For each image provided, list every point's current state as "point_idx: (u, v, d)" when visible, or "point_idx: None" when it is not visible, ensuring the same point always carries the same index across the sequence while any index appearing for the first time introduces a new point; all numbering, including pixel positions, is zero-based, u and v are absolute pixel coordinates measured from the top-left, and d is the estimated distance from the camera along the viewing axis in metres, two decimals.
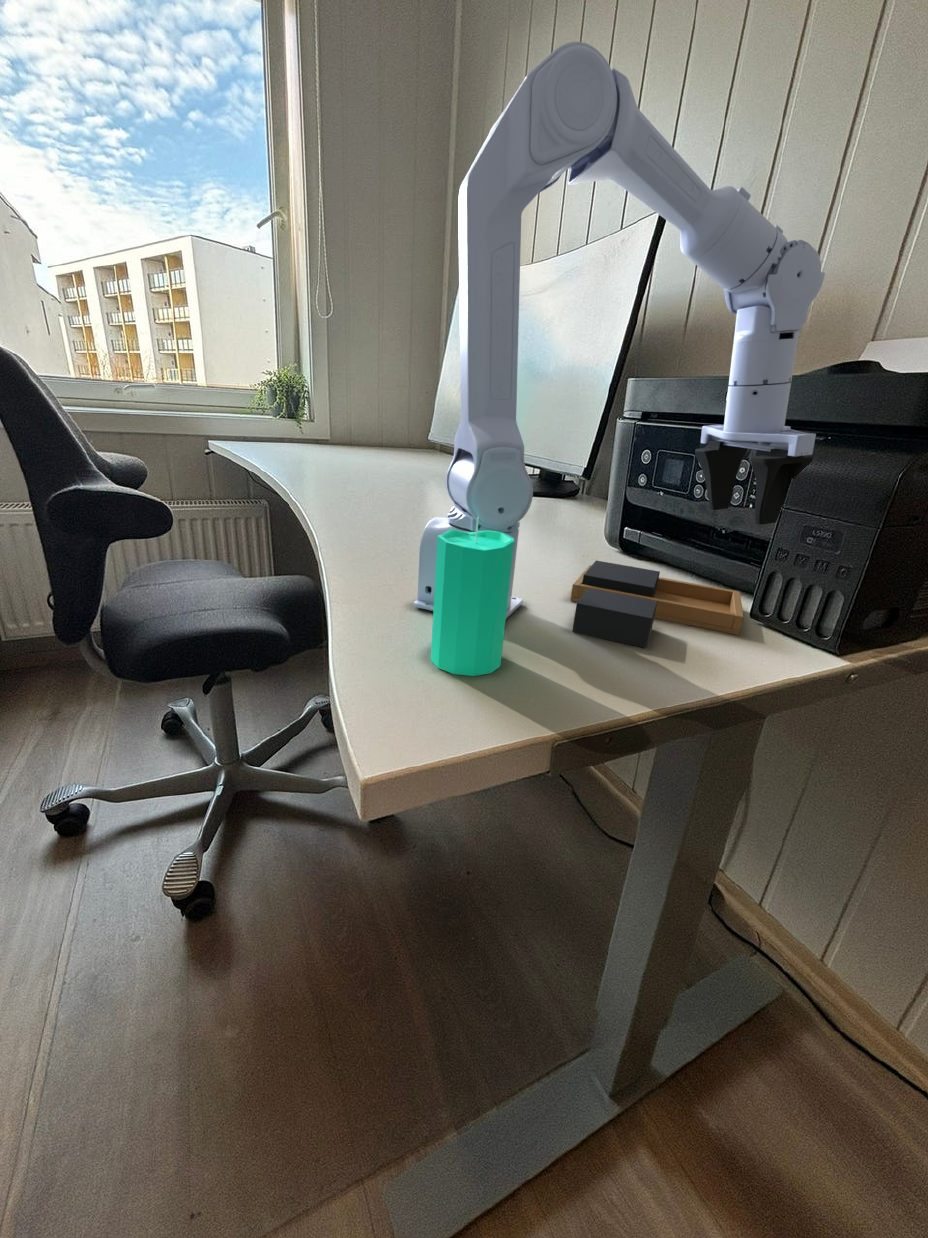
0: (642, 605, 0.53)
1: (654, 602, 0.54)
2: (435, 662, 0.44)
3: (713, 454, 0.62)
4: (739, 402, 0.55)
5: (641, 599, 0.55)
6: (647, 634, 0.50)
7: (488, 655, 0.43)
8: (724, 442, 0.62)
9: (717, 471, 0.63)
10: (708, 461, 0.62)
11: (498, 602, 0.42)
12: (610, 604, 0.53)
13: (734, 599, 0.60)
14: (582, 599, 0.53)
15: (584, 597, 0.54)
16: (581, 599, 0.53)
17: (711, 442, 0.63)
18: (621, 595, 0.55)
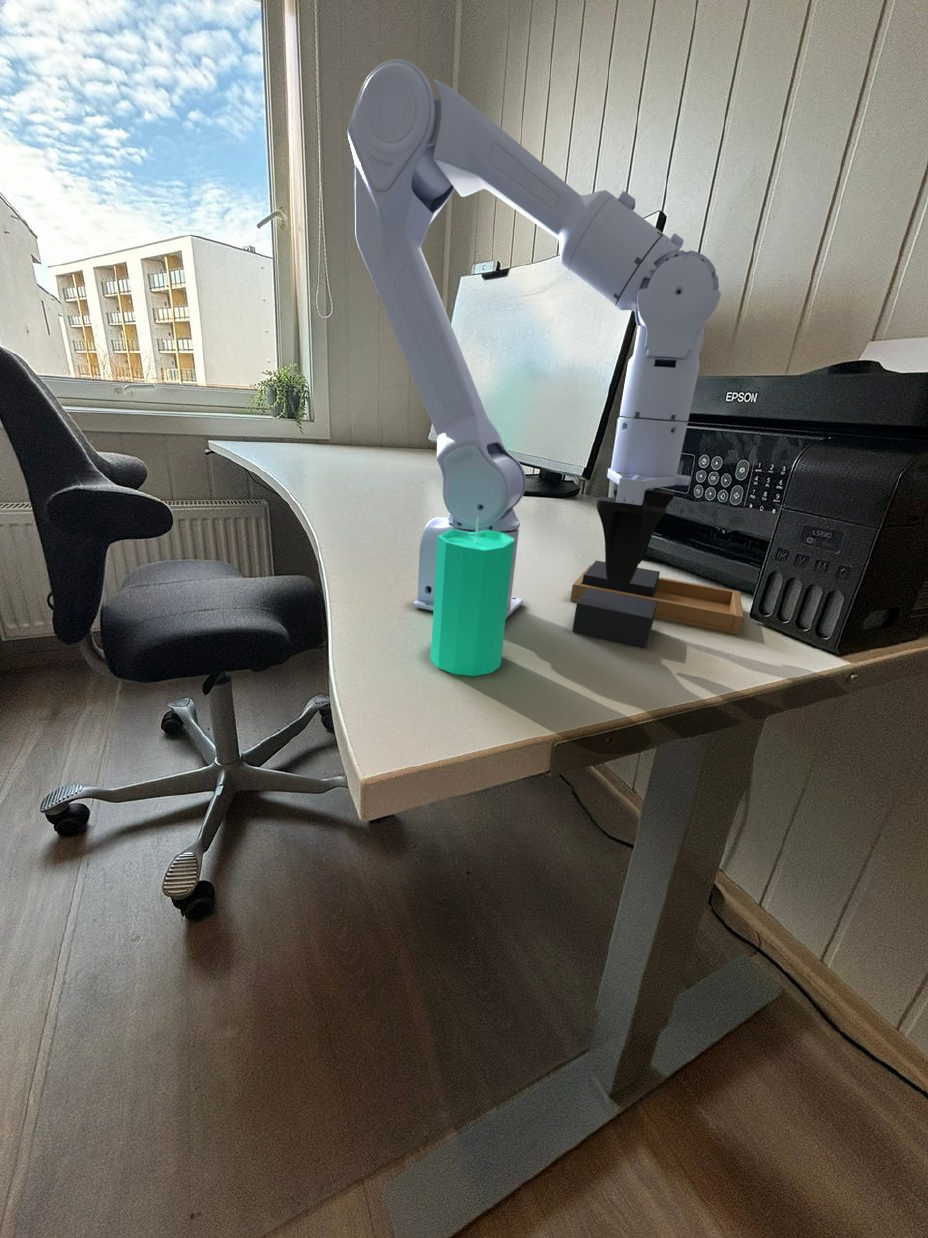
0: (642, 605, 0.53)
1: (654, 602, 0.54)
2: (435, 662, 0.44)
3: None
4: (616, 435, 0.48)
5: (641, 599, 0.55)
6: (647, 634, 0.50)
7: (488, 655, 0.43)
8: None
9: None
10: None
11: (498, 602, 0.42)
12: (610, 604, 0.53)
13: (734, 599, 0.60)
14: (582, 599, 0.53)
15: (584, 597, 0.54)
16: (581, 599, 0.53)
17: None
18: (621, 595, 0.55)
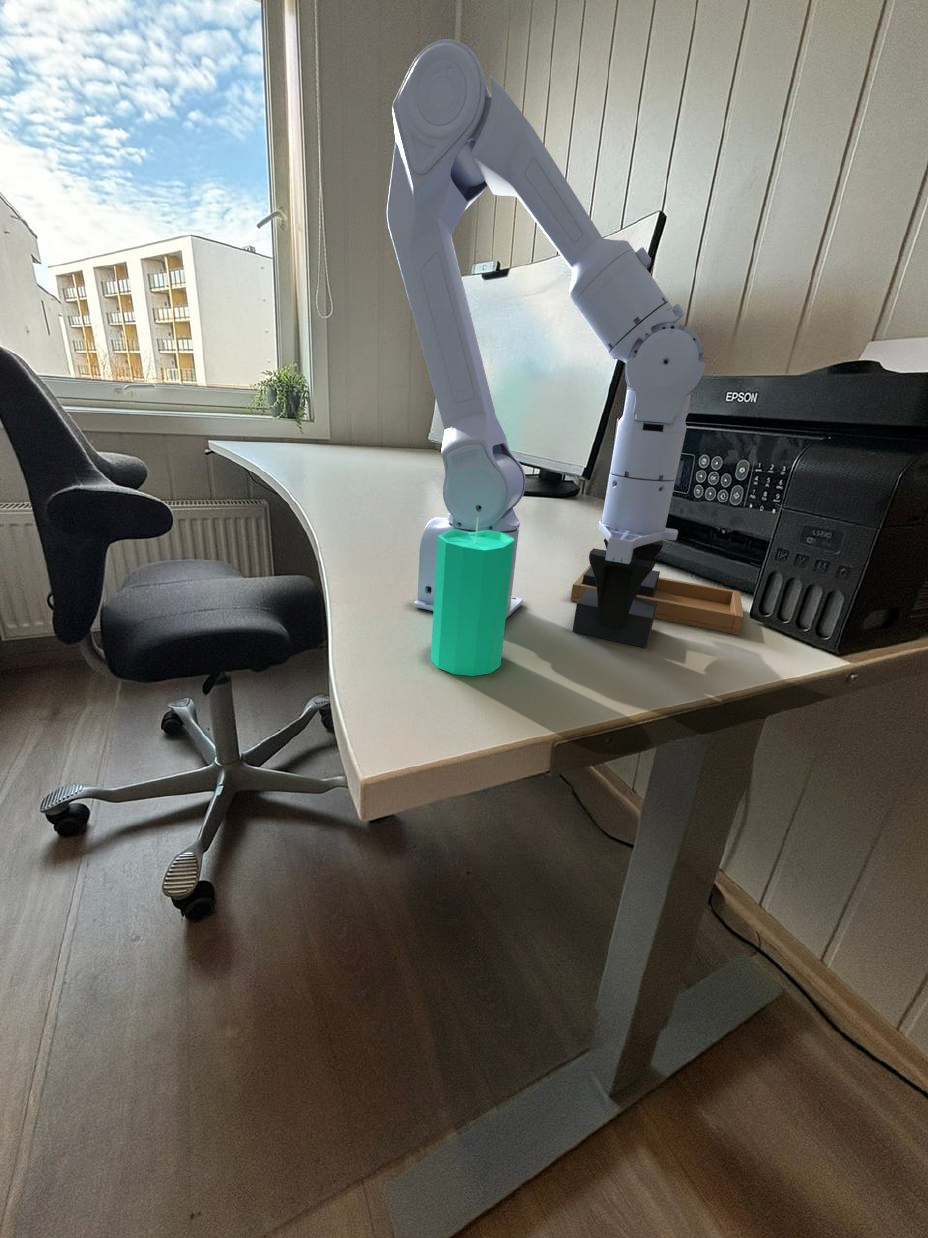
0: (642, 605, 0.53)
1: (654, 602, 0.54)
2: (435, 662, 0.44)
3: None
4: (607, 490, 0.50)
5: (641, 599, 0.55)
6: (647, 634, 0.50)
7: (488, 655, 0.43)
8: None
9: None
10: None
11: (498, 602, 0.42)
12: None
13: (734, 599, 0.60)
14: (582, 599, 0.53)
15: (584, 596, 0.54)
16: (581, 599, 0.53)
17: None
18: None
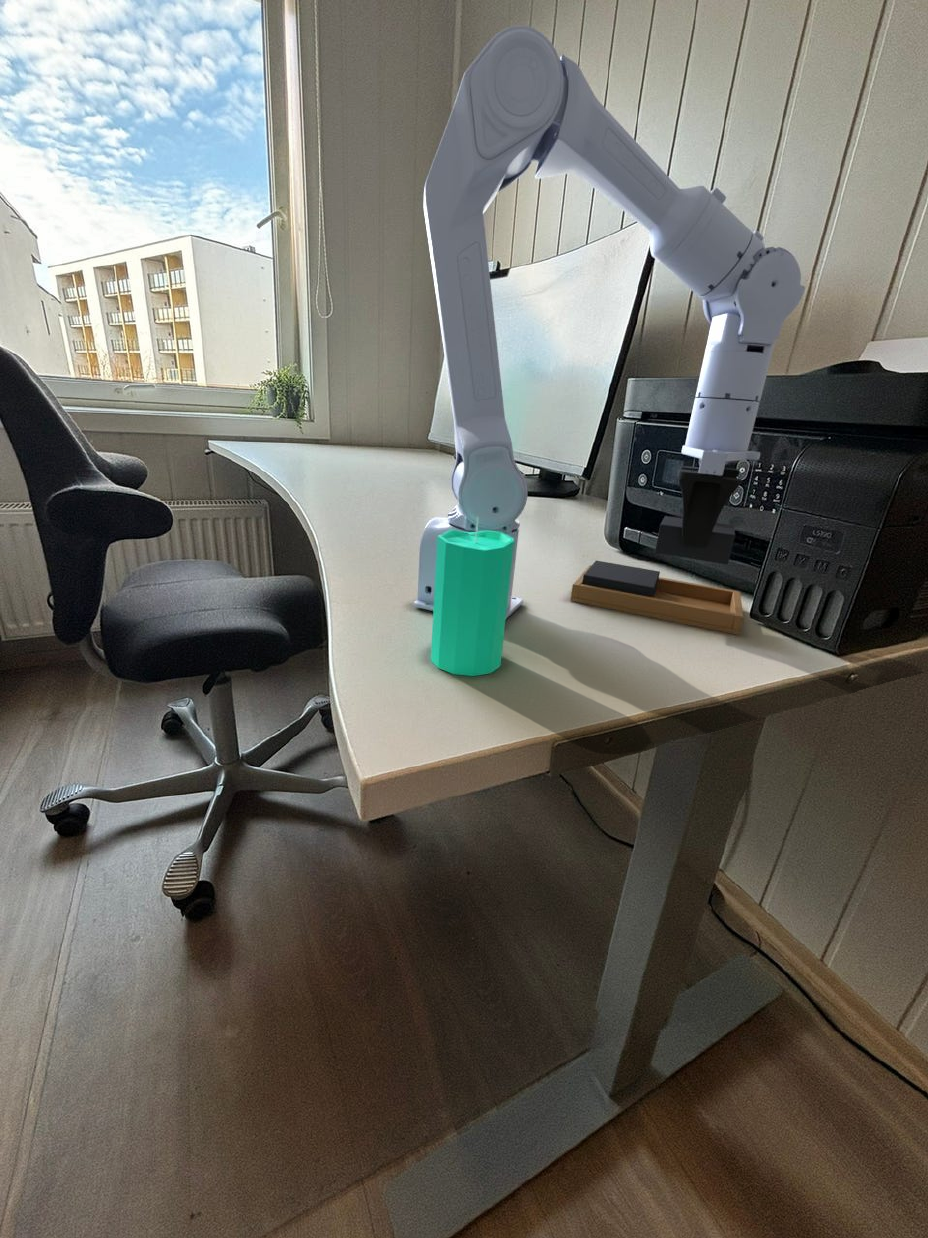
0: (721, 527, 0.56)
1: (731, 526, 0.57)
2: (435, 662, 0.44)
3: None
4: (692, 414, 0.53)
5: (718, 524, 0.58)
6: (730, 551, 0.54)
7: (488, 655, 0.43)
8: None
9: None
10: None
11: (498, 602, 0.42)
12: None
13: (734, 599, 0.60)
14: (664, 522, 0.56)
15: (665, 520, 0.57)
16: (663, 522, 0.56)
17: None
18: None
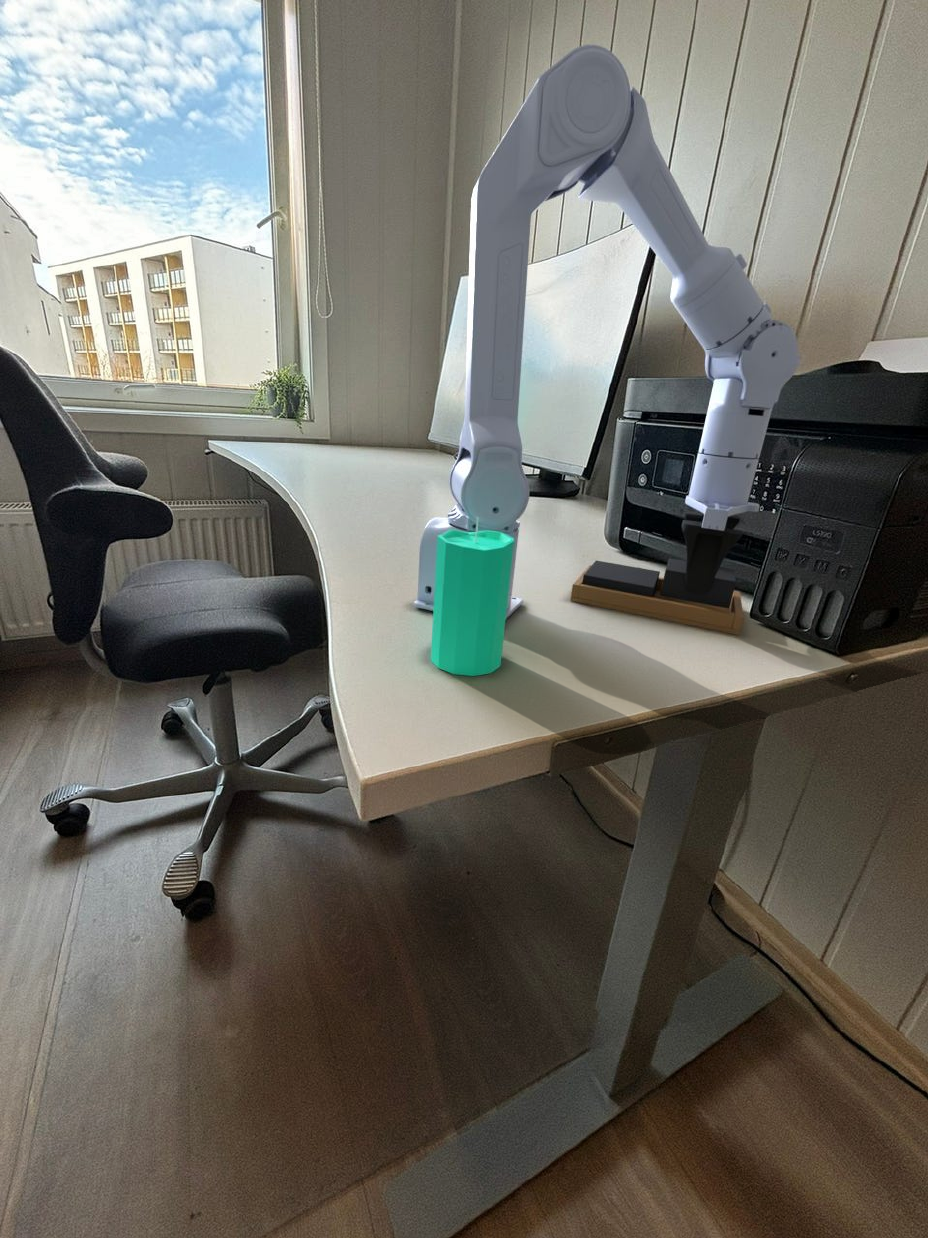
0: (722, 571, 0.59)
1: (732, 569, 0.61)
2: (435, 662, 0.44)
3: (695, 519, 0.61)
4: (695, 468, 0.56)
5: (719, 567, 0.61)
6: (731, 596, 0.57)
7: (488, 655, 0.43)
8: None
9: None
10: None
11: (498, 602, 0.42)
12: None
13: (734, 599, 0.60)
14: (669, 567, 0.60)
15: (669, 565, 0.60)
16: (668, 566, 0.60)
17: None
18: None
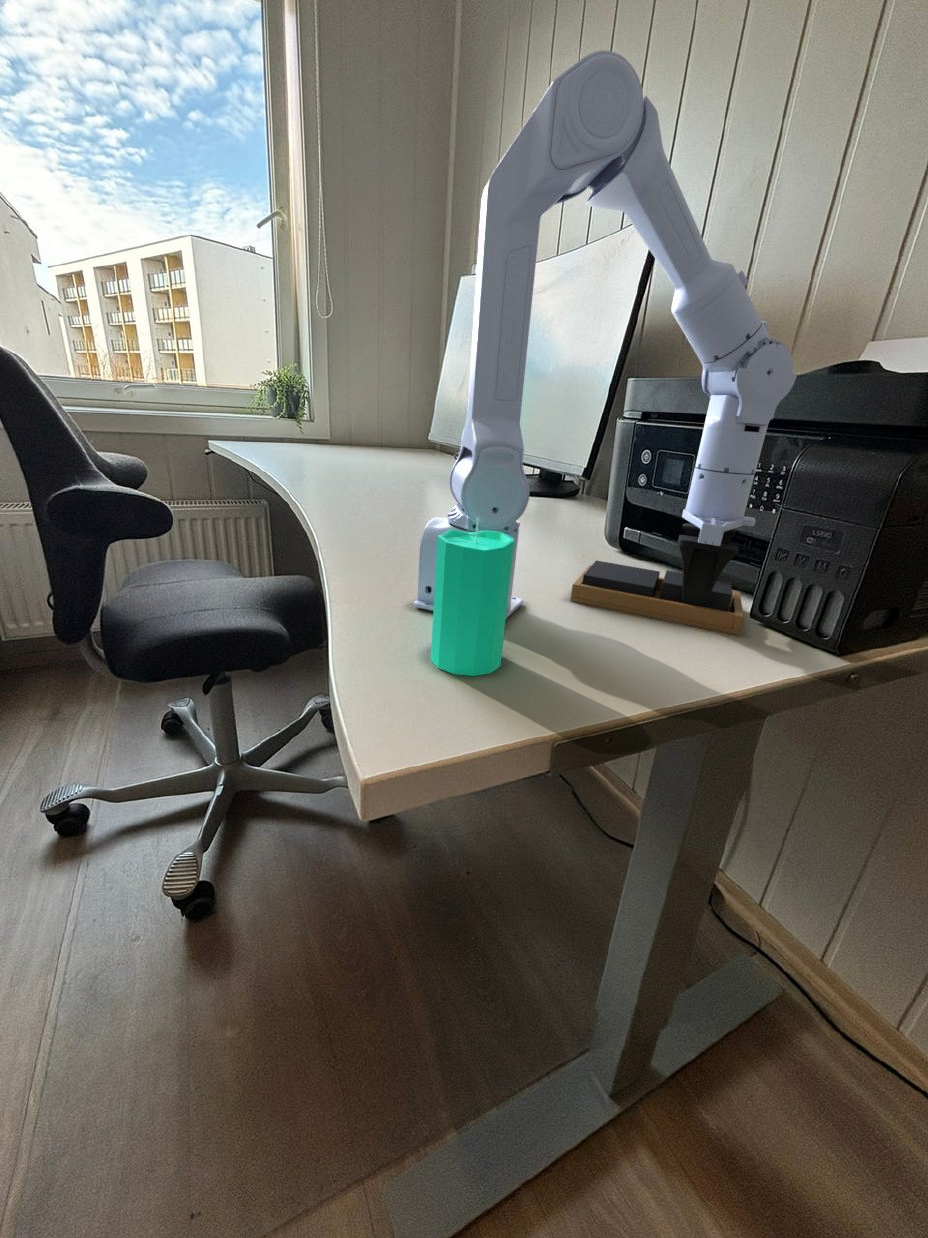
0: (719, 584, 0.60)
1: (728, 582, 0.61)
2: (435, 662, 0.44)
3: (692, 531, 0.62)
4: (692, 483, 0.57)
5: None
6: (727, 609, 0.57)
7: (488, 655, 0.43)
8: None
9: None
10: None
11: (498, 602, 0.42)
12: None
13: (734, 599, 0.60)
14: (666, 579, 0.60)
15: (666, 577, 0.61)
16: (665, 579, 0.60)
17: None
18: None
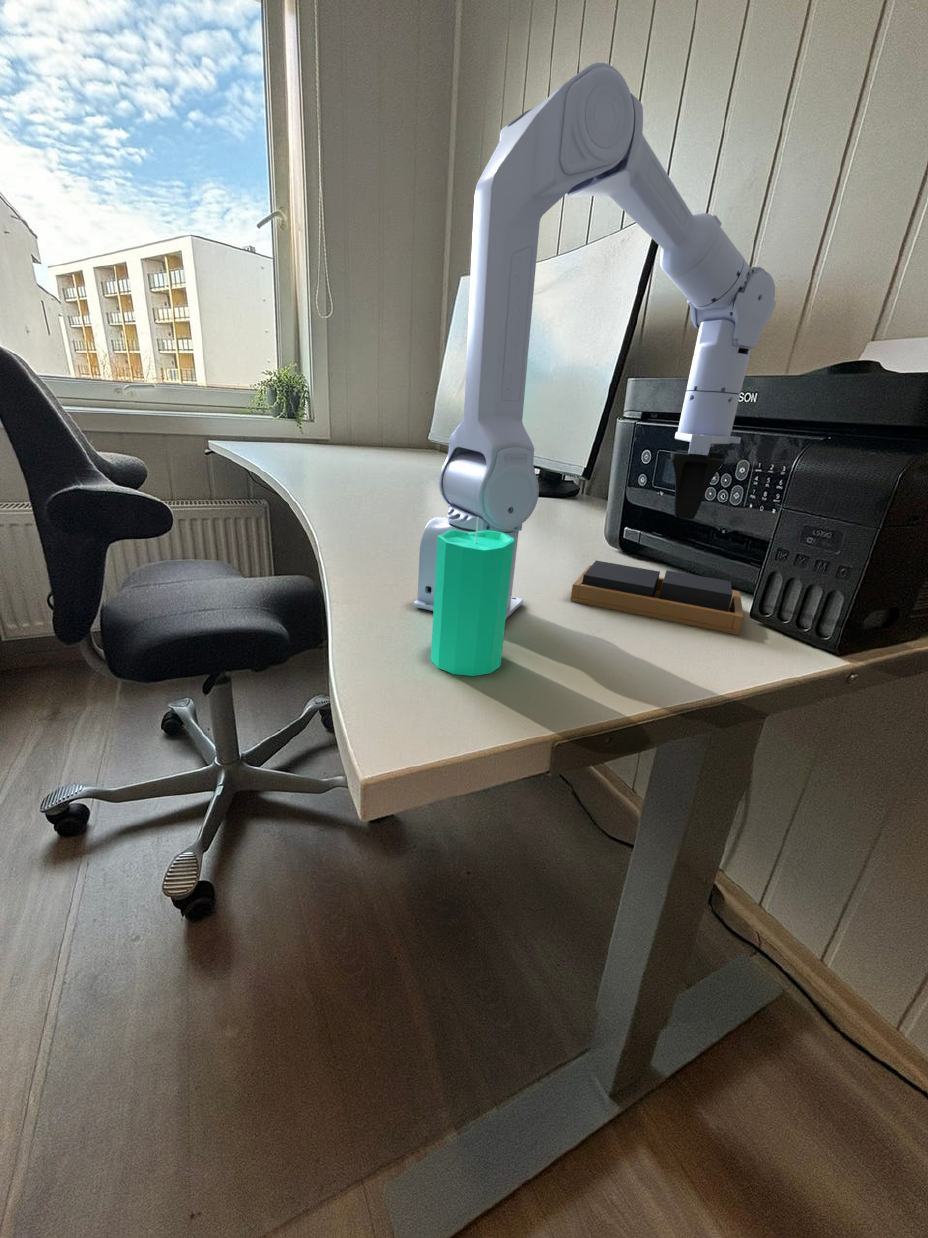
0: (719, 584, 0.60)
1: (728, 582, 0.61)
2: (435, 662, 0.44)
3: None
4: (684, 405, 0.63)
5: (716, 579, 0.62)
6: (727, 609, 0.57)
7: (488, 655, 0.43)
8: None
9: None
10: None
11: (498, 602, 0.42)
12: (692, 583, 0.60)
13: (734, 599, 0.60)
14: (666, 579, 0.60)
15: (666, 577, 0.61)
16: (665, 579, 0.60)
17: None
18: (698, 576, 0.62)
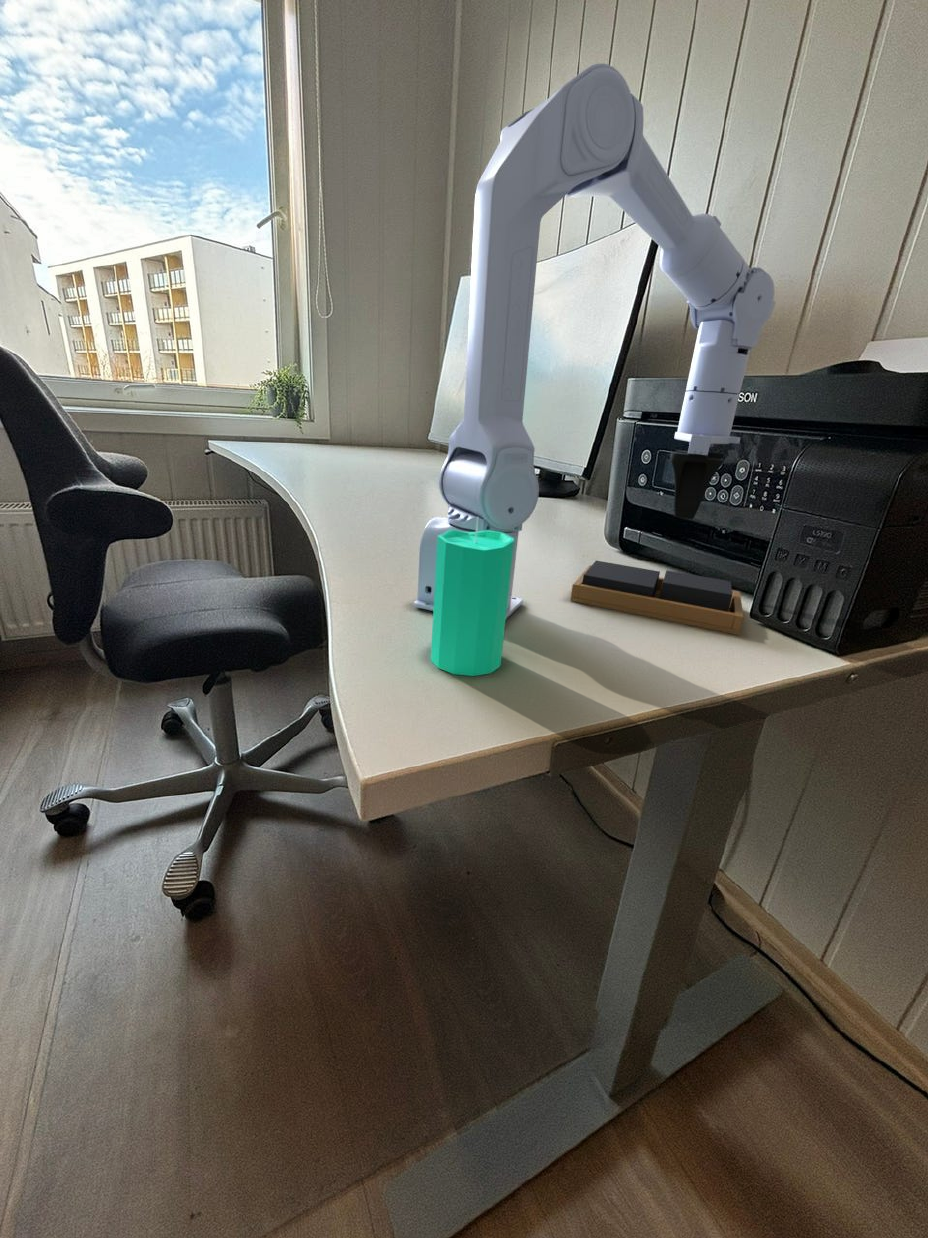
0: (719, 584, 0.60)
1: (728, 582, 0.61)
2: (435, 662, 0.44)
3: None
4: (683, 405, 0.63)
5: (716, 579, 0.62)
6: (727, 609, 0.57)
7: (488, 655, 0.43)
8: None
9: None
10: None
11: (498, 602, 0.42)
12: (692, 583, 0.60)
13: (734, 599, 0.60)
14: (666, 579, 0.60)
15: (666, 577, 0.61)
16: (665, 579, 0.60)
17: None
18: (698, 576, 0.62)
